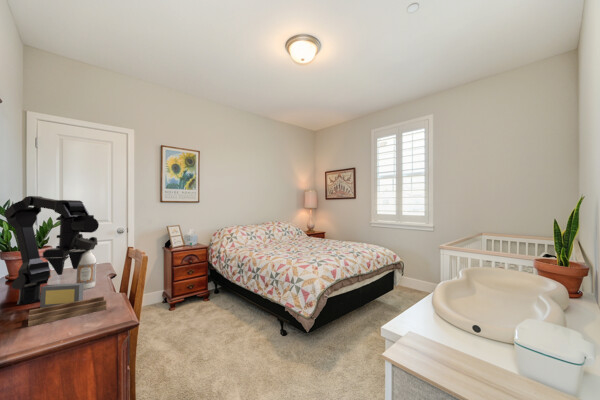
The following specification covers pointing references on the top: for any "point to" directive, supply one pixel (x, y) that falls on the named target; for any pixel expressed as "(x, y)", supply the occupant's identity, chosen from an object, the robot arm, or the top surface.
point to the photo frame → (61, 294)
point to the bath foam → (87, 270)
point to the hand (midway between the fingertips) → (67, 271)
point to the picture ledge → (65, 310)
